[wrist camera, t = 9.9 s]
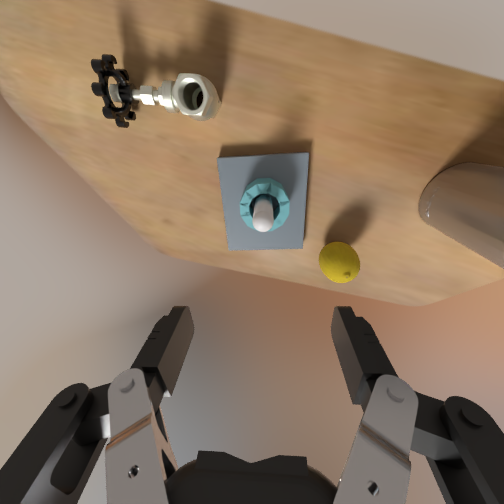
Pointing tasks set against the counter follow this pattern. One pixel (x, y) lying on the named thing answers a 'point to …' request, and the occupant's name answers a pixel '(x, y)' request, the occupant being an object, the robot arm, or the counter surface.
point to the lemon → (339, 262)
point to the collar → (263, 188)
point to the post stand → (264, 200)
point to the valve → (153, 93)
